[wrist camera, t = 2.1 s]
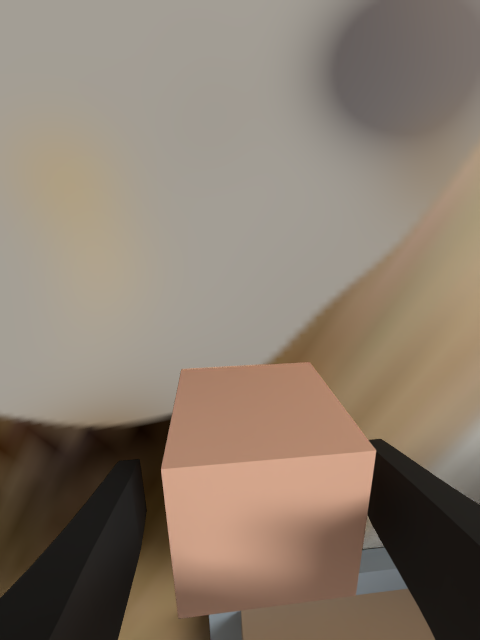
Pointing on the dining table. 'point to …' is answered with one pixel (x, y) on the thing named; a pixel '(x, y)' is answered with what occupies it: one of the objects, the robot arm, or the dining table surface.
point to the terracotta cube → (263, 489)
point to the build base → (336, 612)
